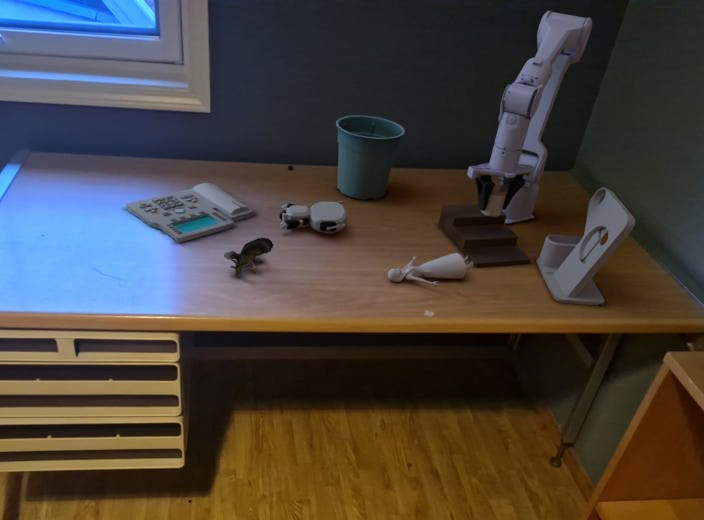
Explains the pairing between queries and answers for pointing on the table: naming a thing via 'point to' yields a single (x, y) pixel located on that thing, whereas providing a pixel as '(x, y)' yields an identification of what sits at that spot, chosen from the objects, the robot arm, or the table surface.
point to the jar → (496, 201)
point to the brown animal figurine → (249, 254)
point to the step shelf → (481, 236)
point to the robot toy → (314, 216)
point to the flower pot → (366, 154)
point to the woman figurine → (433, 269)
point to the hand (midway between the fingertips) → (491, 208)
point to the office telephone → (191, 212)
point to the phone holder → (585, 251)
